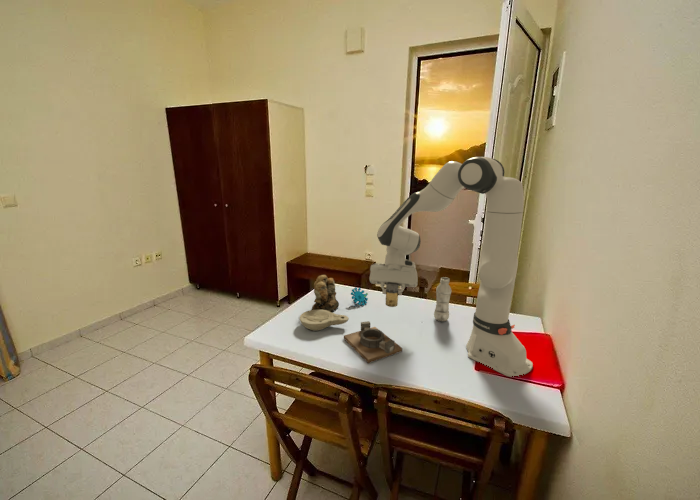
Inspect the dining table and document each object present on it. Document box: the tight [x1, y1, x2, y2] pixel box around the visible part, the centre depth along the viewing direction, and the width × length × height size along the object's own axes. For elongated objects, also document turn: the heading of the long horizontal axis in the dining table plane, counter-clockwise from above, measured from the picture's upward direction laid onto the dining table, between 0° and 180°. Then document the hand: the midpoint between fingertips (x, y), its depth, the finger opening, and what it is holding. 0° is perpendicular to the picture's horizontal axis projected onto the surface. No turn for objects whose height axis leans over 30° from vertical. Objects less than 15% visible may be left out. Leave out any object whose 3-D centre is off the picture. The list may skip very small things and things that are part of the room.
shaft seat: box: [343, 321, 403, 364], centre depth 118 cm, size 19×15×5 cm
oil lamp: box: [299, 309, 350, 331], centre depth 131 cm, size 21×14×5 cm
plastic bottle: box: [433, 276, 452, 323], centre depth 136 cm, size 6×7×20 cm
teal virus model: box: [350, 287, 369, 306], centre depth 155 cm, size 11×6×10 cm
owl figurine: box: [311, 274, 340, 313], centre depth 147 cm, size 18×12×17 cm, turn 160°
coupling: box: [385, 282, 400, 308], centre depth 127 cm, size 5×5×9 cm
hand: (391, 294), depth 126 cm, fingers closed on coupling, 5 cm apart
